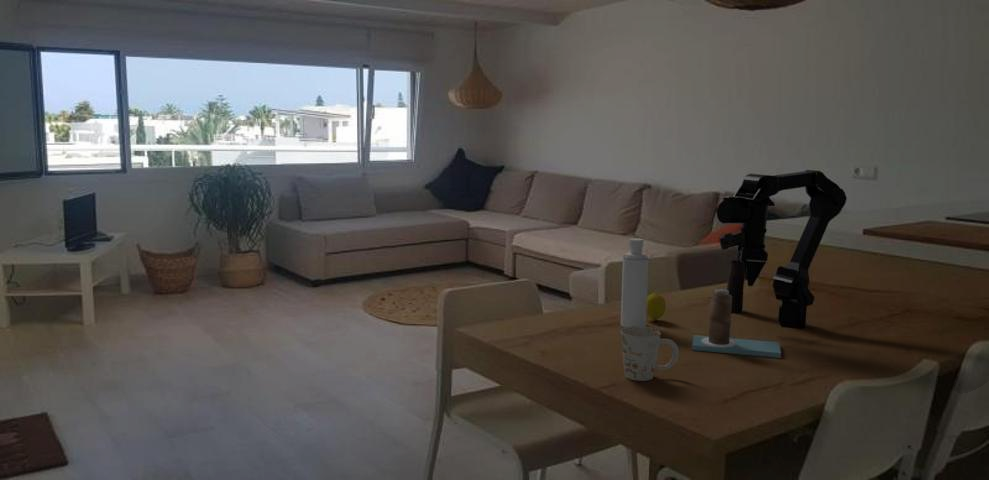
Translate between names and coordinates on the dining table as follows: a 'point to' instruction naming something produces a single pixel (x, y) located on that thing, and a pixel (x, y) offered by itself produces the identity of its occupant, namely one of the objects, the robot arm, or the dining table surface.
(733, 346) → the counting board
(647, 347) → the mug
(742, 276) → the butter churn
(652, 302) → the lemon
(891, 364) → the dining table surface
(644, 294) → the white bottle
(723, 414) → the dining table surface
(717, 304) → the pepper mill
